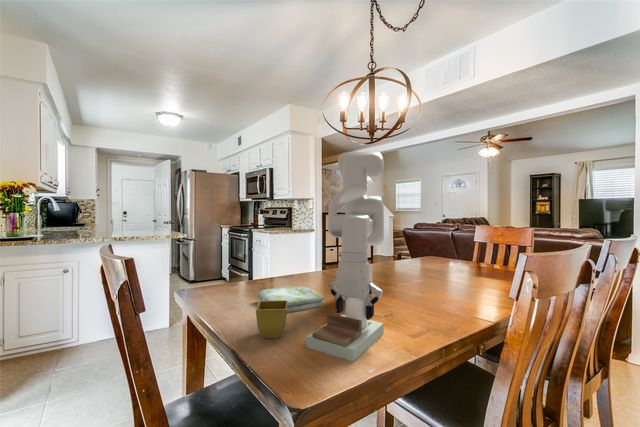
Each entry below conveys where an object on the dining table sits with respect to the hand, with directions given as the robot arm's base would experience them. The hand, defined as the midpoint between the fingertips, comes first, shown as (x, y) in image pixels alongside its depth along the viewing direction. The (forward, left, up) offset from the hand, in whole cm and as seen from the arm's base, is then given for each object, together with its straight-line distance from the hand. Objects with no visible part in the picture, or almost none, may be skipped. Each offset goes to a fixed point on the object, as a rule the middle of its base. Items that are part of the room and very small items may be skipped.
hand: (354, 315), depth 89 cm
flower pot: (+14, -20, -6) cm, 25 cm away
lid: (+10, 0, -2) cm, 10 cm away
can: (0, +1, -6) cm, 6 cm away
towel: (-13, -34, -6) cm, 37 cm away
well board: (+4, 0, -6) cm, 7 cm away
